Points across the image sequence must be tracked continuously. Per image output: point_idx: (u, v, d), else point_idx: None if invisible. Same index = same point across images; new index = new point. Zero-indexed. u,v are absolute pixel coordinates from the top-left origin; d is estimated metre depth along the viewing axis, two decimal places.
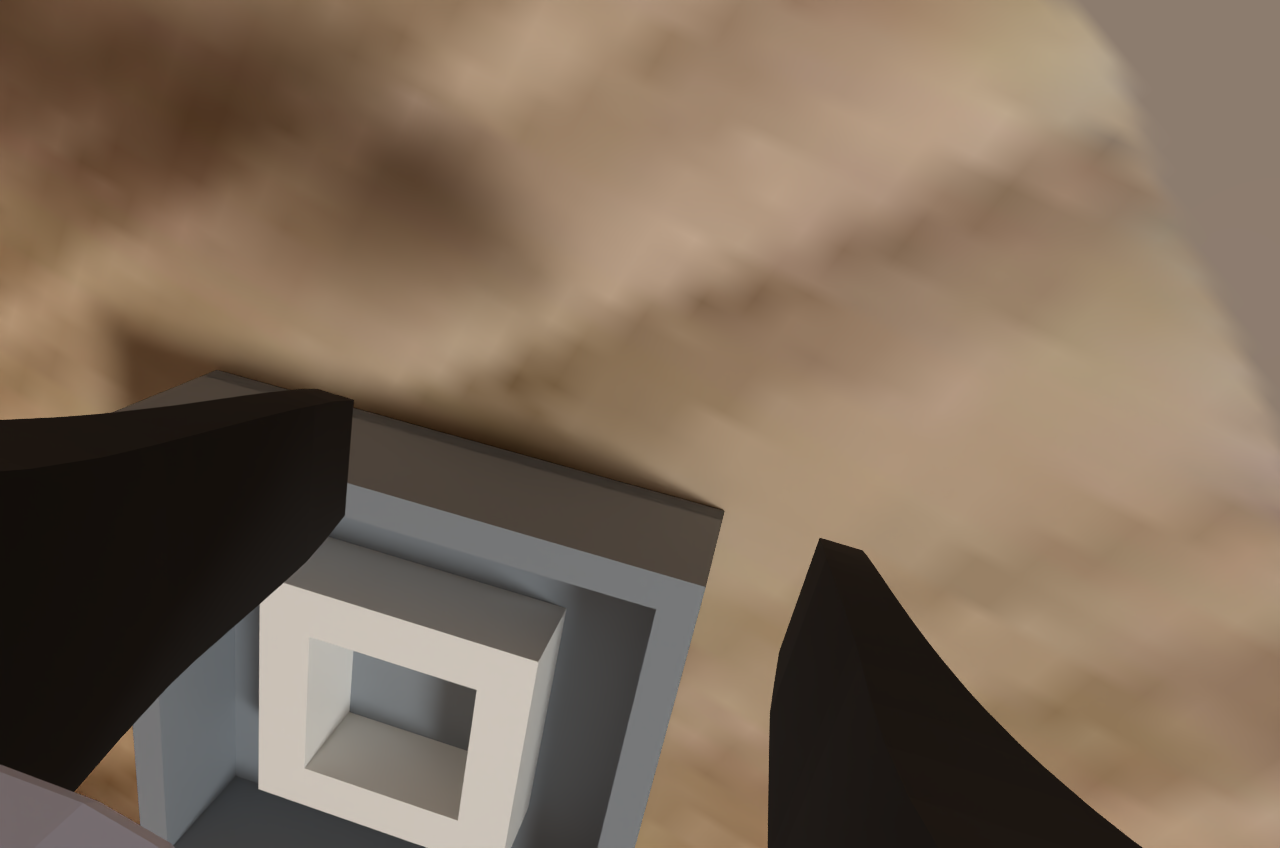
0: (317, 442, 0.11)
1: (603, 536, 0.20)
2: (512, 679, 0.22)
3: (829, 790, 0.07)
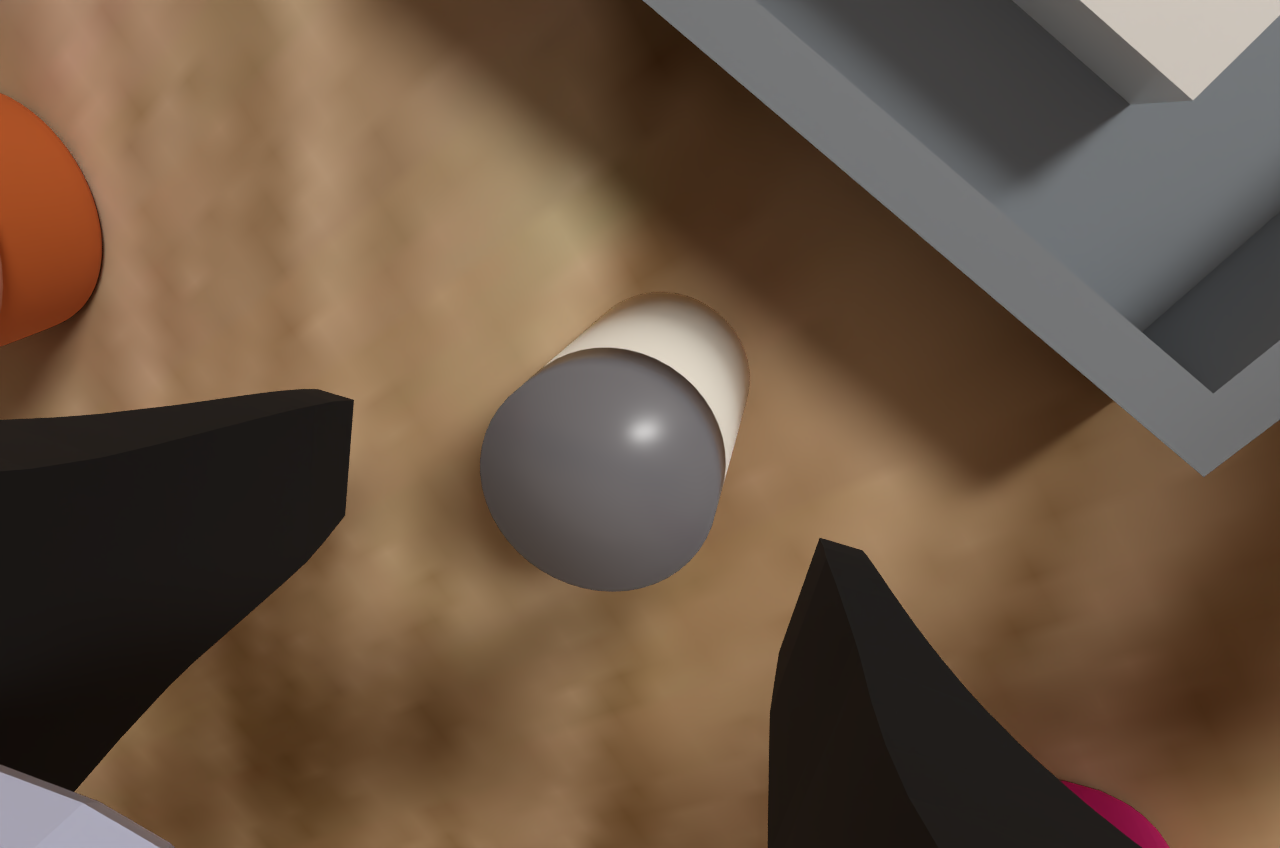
0: (317, 442, 0.11)
1: None
2: None
3: (829, 790, 0.07)
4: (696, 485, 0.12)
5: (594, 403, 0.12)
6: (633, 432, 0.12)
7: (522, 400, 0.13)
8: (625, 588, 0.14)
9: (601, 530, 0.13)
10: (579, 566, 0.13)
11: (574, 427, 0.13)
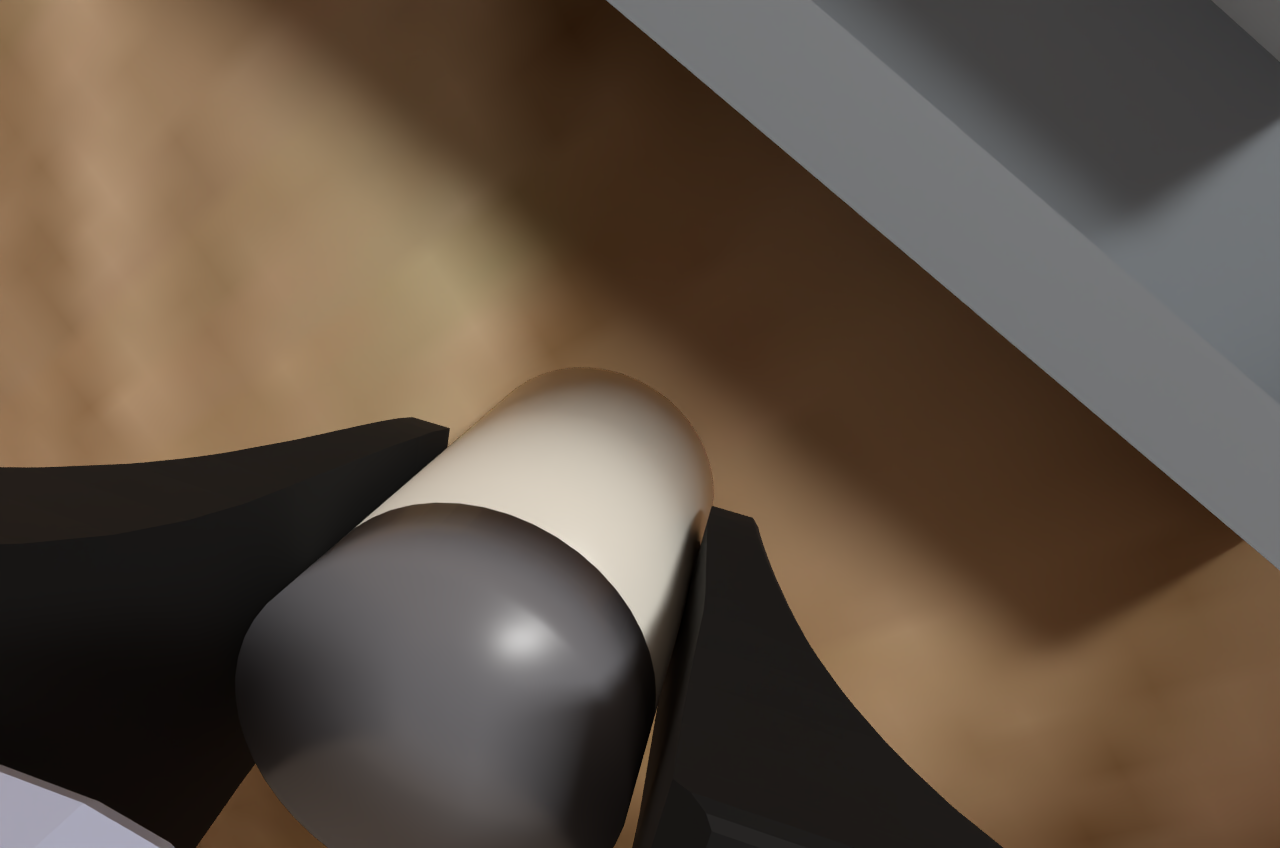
0: None
1: None
2: None
3: (667, 736, 0.07)
4: (595, 764, 0.07)
5: (410, 622, 0.07)
6: (481, 673, 0.07)
7: (290, 610, 0.07)
8: None
9: (441, 816, 0.08)
10: None
11: (381, 658, 0.07)
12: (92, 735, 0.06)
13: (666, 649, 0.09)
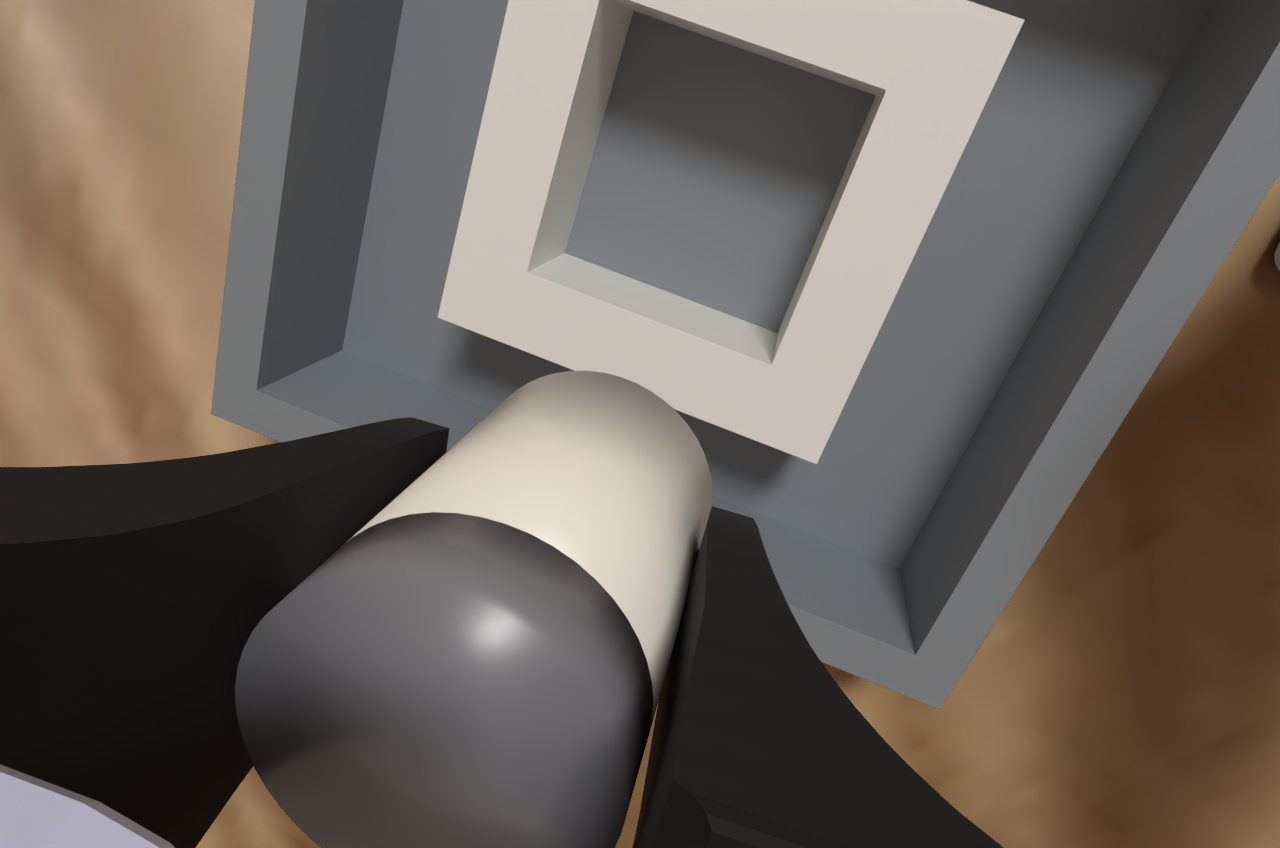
0: (418, 473, 0.11)
1: None
2: None
3: (668, 736, 0.07)
4: (592, 774, 0.07)
5: (408, 634, 0.07)
6: (478, 683, 0.07)
7: (289, 621, 0.07)
8: None
9: (439, 823, 0.08)
10: None
11: (379, 668, 0.07)
12: (91, 734, 0.06)
13: (663, 655, 0.09)
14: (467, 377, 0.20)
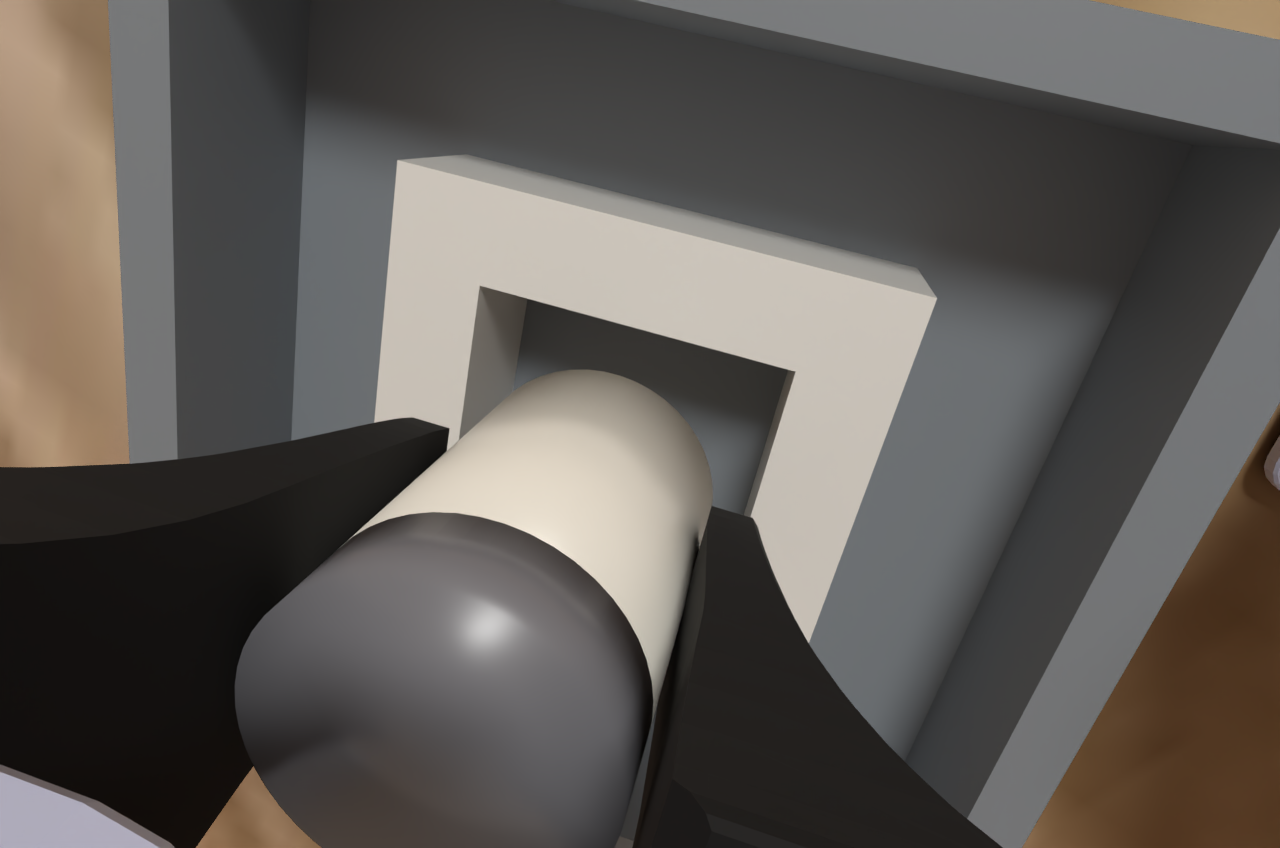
0: (418, 473, 0.11)
1: None
2: (443, 214, 0.12)
3: (667, 736, 0.07)
4: (592, 773, 0.07)
5: (407, 634, 0.07)
6: (477, 683, 0.07)
7: (288, 622, 0.07)
8: None
9: (440, 823, 0.08)
10: None
11: (378, 668, 0.07)
12: (92, 735, 0.06)
13: (664, 655, 0.09)
14: None
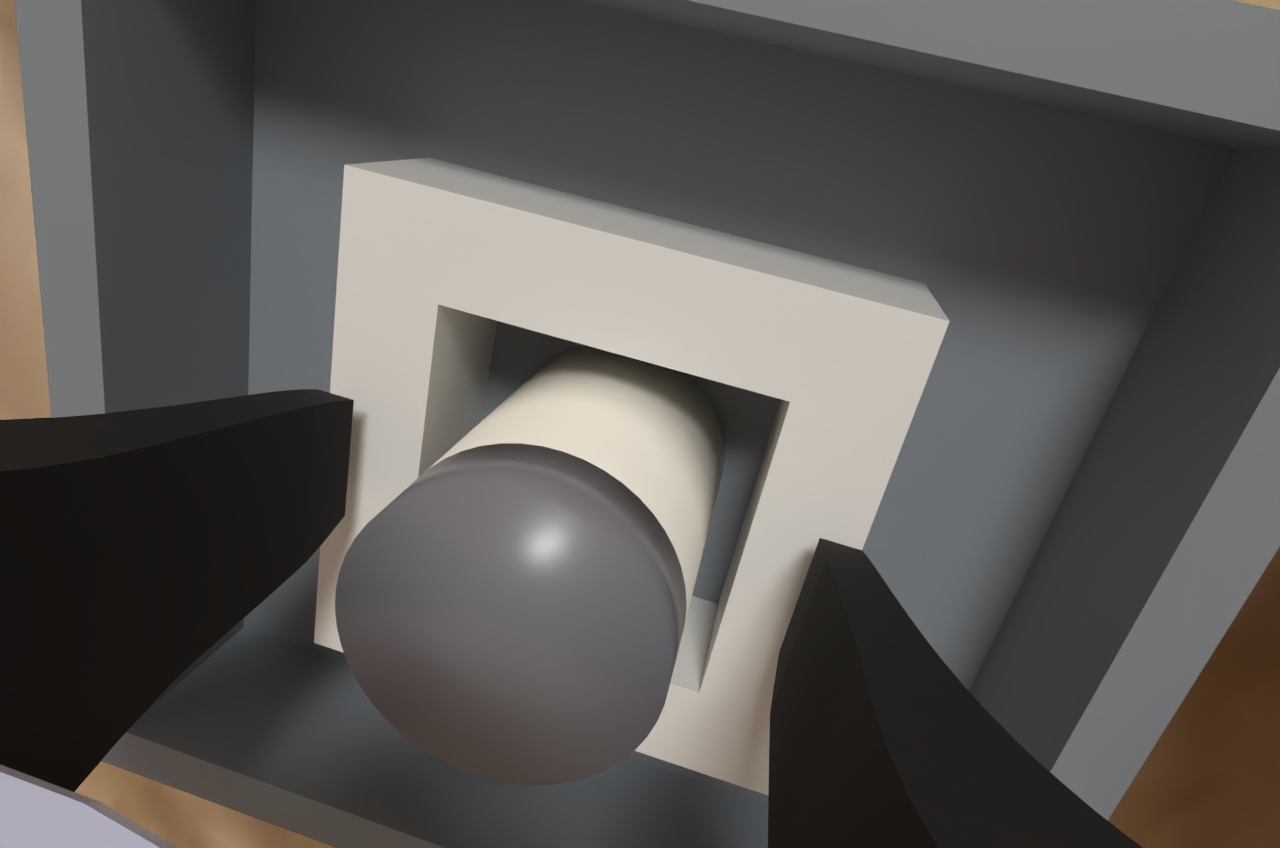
0: (317, 442, 0.11)
1: None
2: (396, 224, 0.11)
3: (829, 790, 0.07)
4: (641, 651, 0.09)
5: (489, 535, 0.08)
6: (547, 576, 0.08)
7: (387, 528, 0.09)
8: (547, 780, 0.10)
9: (509, 705, 0.09)
10: (481, 751, 0.10)
11: (463, 567, 0.09)
12: None
13: (693, 571, 0.10)
14: None
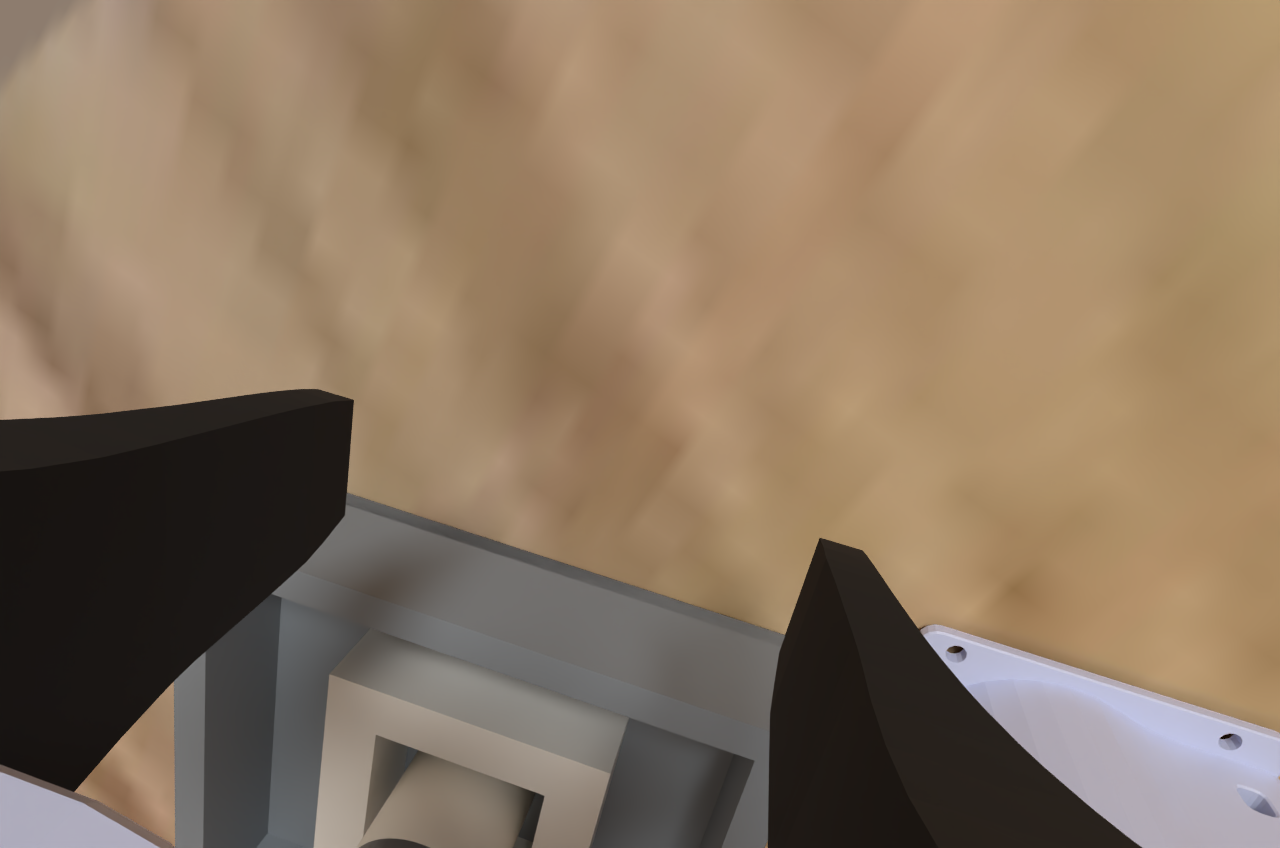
0: (317, 442, 0.11)
1: None
2: (354, 700, 0.22)
3: (829, 790, 0.07)
4: None
5: None
6: None
7: None
8: None
9: None
10: None
11: None
12: None
13: None
14: None
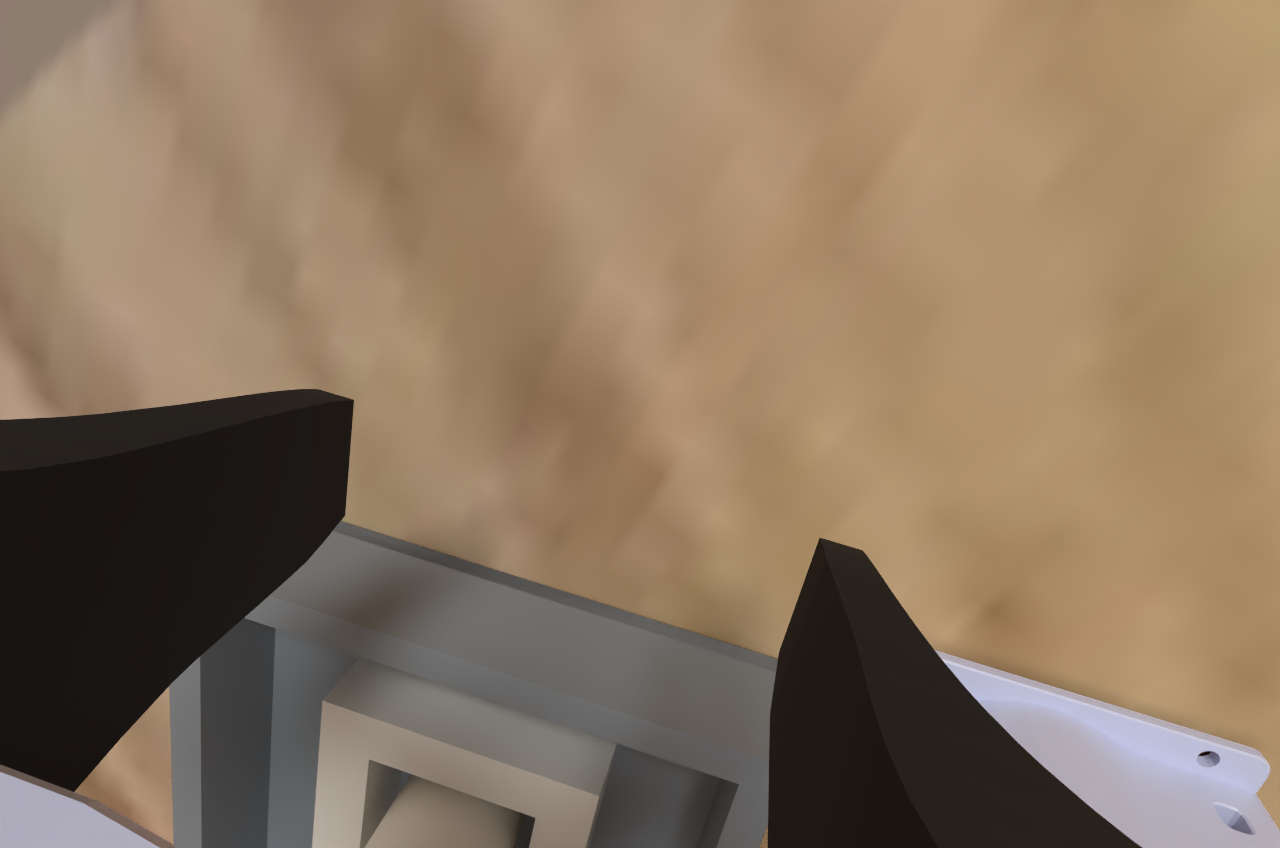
0: (317, 442, 0.11)
1: None
2: (347, 726, 0.23)
3: (829, 790, 0.07)
4: None
5: None
6: None
7: None
8: None
9: None
10: None
11: None
12: None
13: None
14: None
